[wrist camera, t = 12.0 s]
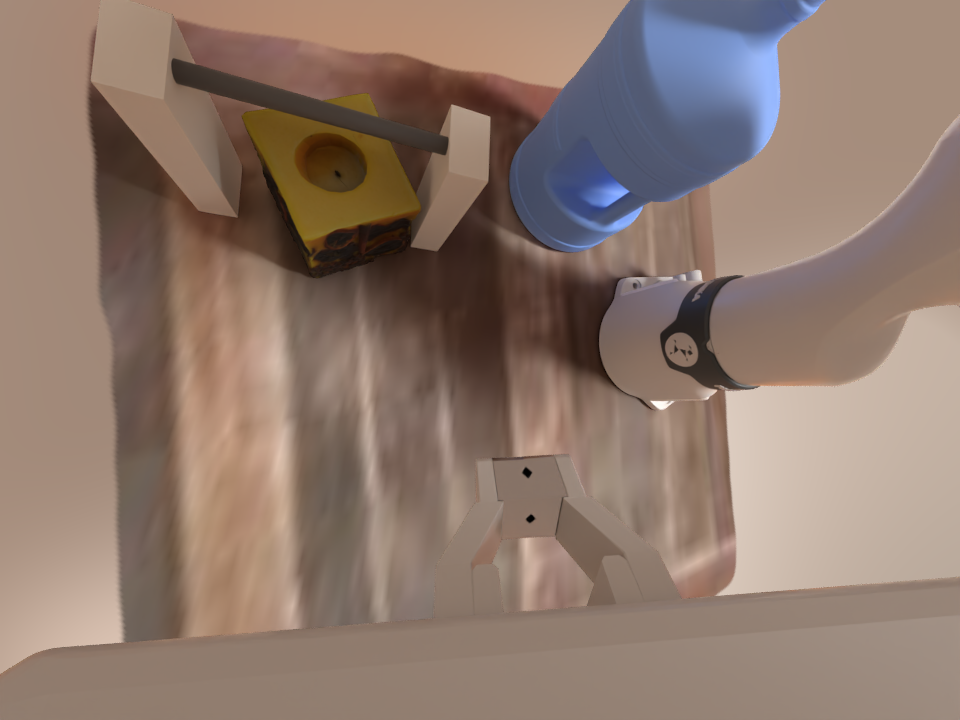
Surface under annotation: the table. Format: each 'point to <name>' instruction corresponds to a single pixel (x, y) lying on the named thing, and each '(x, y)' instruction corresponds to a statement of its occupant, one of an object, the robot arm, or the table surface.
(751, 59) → the water jug
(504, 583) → the table surface
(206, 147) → the frame
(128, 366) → the table surface
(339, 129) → the candle
